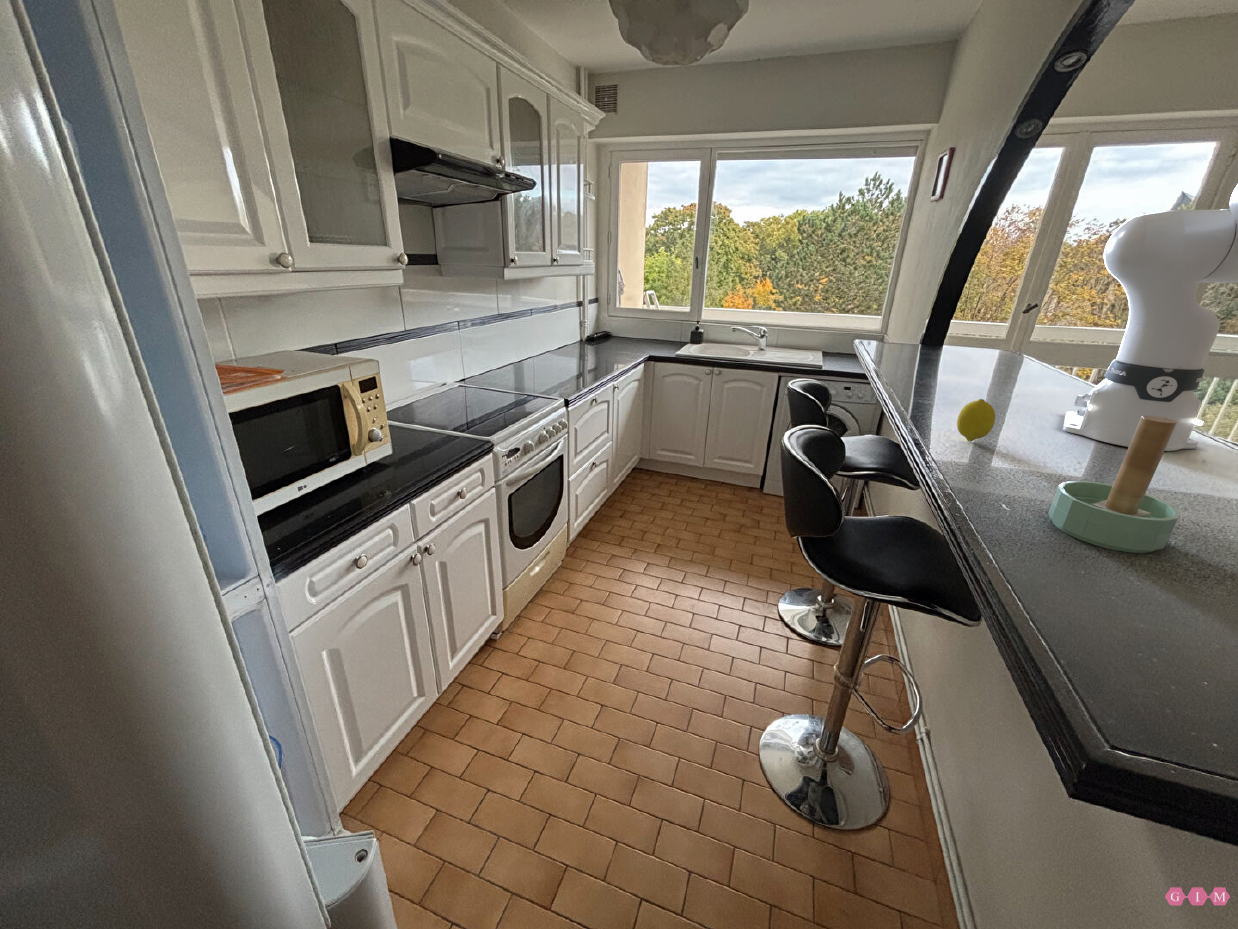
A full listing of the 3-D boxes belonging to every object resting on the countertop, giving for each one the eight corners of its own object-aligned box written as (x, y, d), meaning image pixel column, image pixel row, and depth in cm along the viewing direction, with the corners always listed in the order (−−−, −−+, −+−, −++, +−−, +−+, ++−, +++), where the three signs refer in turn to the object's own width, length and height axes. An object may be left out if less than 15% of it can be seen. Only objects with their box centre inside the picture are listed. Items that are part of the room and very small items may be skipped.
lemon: (993, 447, 90) (1006, 404, 87) (959, 445, 91) (971, 401, 88) (979, 437, 95) (991, 396, 92) (947, 435, 96) (958, 394, 93)
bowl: (1040, 505, 68) (1051, 474, 67) (1145, 525, 64) (1160, 492, 62) (1056, 539, 60) (1069, 505, 58) (1178, 565, 55) (1197, 529, 53)
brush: (1101, 520, 63) (1146, 412, 58) (1141, 535, 60) (1193, 422, 55) (1081, 525, 62) (1126, 415, 57) (1121, 541, 58) (1173, 426, 53)
